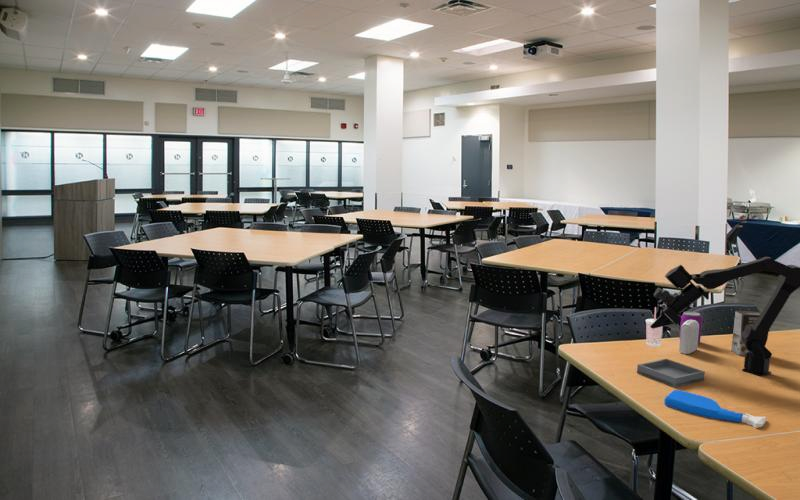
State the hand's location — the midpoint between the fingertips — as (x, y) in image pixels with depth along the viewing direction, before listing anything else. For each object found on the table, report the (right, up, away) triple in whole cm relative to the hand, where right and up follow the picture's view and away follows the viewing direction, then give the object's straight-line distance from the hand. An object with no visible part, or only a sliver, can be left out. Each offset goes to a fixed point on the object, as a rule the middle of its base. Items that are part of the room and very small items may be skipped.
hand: (650, 325), depth 202 cm
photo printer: (+21, -12, +14) cm, 28 cm away
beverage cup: (+1, -7, 0) cm, 7 cm away
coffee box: (+42, -13, +11) cm, 46 cm away
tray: (0, -15, -15) cm, 21 cm away
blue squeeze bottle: (-1, -20, -43) cm, 47 cm away
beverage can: (+28, -10, +26) cm, 39 cm away
